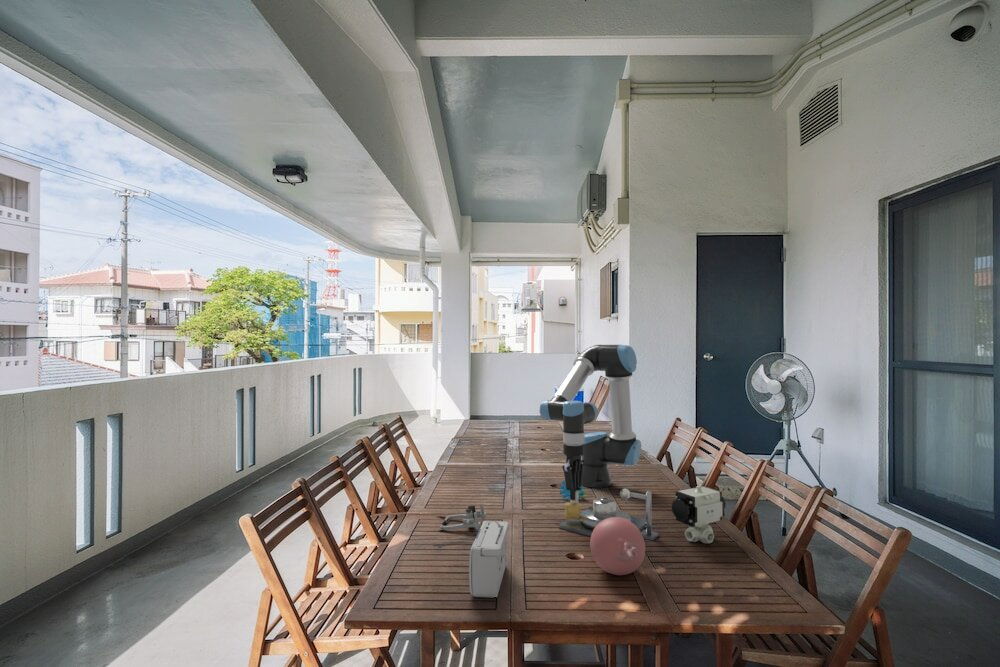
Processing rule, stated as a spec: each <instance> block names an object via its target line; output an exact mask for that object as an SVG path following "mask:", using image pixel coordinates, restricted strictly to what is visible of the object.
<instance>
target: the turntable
mask: <svg viewBox="0 0 1000 667" xmlns="http://www.w3.org/2000/svg"><path fill="white" fill-rule="evenodd" d="M586 509H587V508H586ZM580 512H581V513H580ZM629 515H630V514H628V513H626V512H624V511H621V510H619V509H616V517H620V518H624V519H627V520H629V521H630V522H631V517H630V516H631V515H630V516H629ZM568 519H572V520H580V522H581V524H583V525H584V526H586V527H589V528H592V529H594V528H595V527H596V526H597V525H598V524H599V523H600V522H601V521H603V520H600V519H597V518H595V517H594V516H593V508H592V509H587V510H585V509H584V510H581V506H580V502H578V503H570V502H565V520H568Z"/></svg>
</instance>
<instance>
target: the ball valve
mask: <svg viewBox="0 0 1000 667" xmlns="http://www.w3.org/2000/svg"><path fill="white" fill-rule="evenodd" d="M726 505H727V504H726V500H725V498H724V496H723V492H722V490H718V489H714V488H712V487H709V486H706V485H704V486H703V485H702V486H701V485H697V486H696V487H692V488H686V489H682V490H677V491H675V499H674V500H673V501H672V503H671V511H672V512H671V513H673V517H675V521H676V522H677V521H678V522H679V523H682V524H684V525H686V526H689V527H688V528H686V530H685V531H684V536H685V539H686V540H687V541H689V542H692V543H696V542H701V543H703V544H711V543H713V542H714V539H715V534H714V531H713V528H712V526H710V525H709V524H712V523H715V522H719V521H722V520H723V517H724V516H725V509H726Z"/></svg>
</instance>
